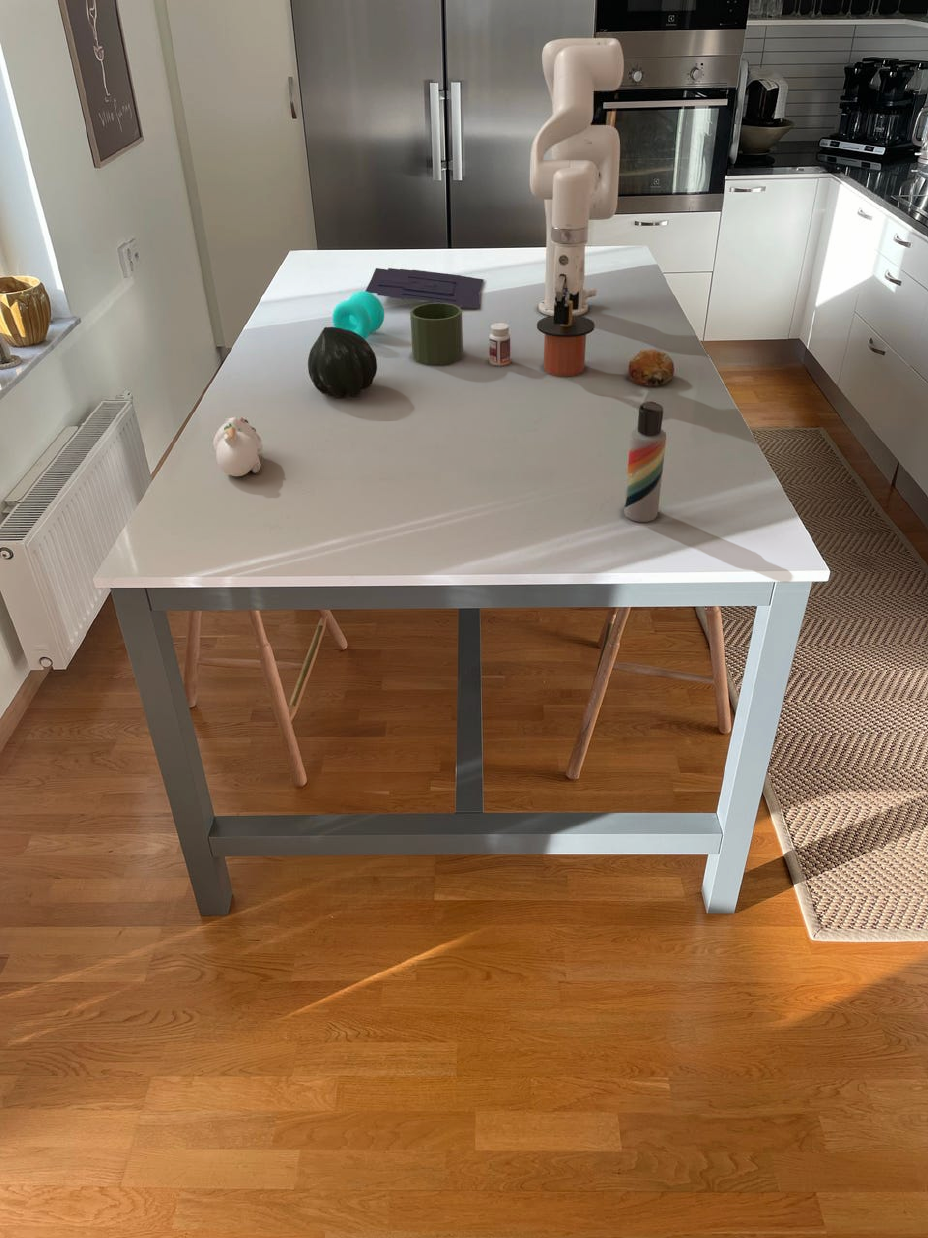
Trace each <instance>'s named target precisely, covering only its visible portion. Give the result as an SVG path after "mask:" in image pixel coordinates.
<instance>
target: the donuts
mask: <svg viewBox="0 0 928 1238" xmlns="http://www.w3.org/2000/svg"><path fill="white" fill-rule="evenodd" d="M384 320H385V309H384V307H383V304H382V302H381V300H380V299H379V298H378V297H377V295H376V294H375V295H374V293H369V292H366V290H359V291H355V292H354V293H353V294H351V295H350V296H349V298H348V299H347V300H343V301H340V302H339V303H338V304H337V305H336V306H335V307H334V309H333V312H332V324H333V327H337V328H342V329H346V330H350V331H353V332H355V333H357V334H359V335H360V336H361V337H362V338H363V339H365V340H366V339H367V338H368V337H369V335H370V334H371V333H374V332H376V331H377V330H379V329H380V328H381V326H382V325H383V323H384Z"/></svg>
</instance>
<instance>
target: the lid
mask: <svg viewBox="0 0 928 1238" xmlns="http://www.w3.org/2000/svg"><path fill="white" fill-rule="evenodd" d="M568 306H569V323H568V325H561V324H554V316H549V315H548V316H546V317H544V318H541V319H539V320H538V321H537V324H536V329H537V330H538V331H539V332H540V333H542V334H544V335H545V334H547V335H551V336H557V337H576V336H582V335H586V336H587V335H588V334H590V333H592V332H593V331H594V330H595V328H596V324H595V322H594V321H593V320H592V319H590V318H588V317H586V316H582V315H578V316H576V315H572V309H573V301H571V300H569V302H568Z"/></svg>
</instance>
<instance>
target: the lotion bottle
mask: <svg viewBox="0 0 928 1238" xmlns="http://www.w3.org/2000/svg"><path fill="white" fill-rule="evenodd" d="M638 407H639V408H638V418H637V427H635V428H633V429H632V431H631V433H630V441H629V451H628V460H627V461H628V462H627V473H626V484H625V493H624V495H625V496H624V508H623V509H624V510H623V511H624V512H623V513H624V515H625V517H626V518H627V519H628V520H631V521H634V522H636V523H637V522H638V523H647V522H648V523H649V522H651V521H653V520H655V519H656V518H657V516H658V513H659V506H660V497H661V487H662V480H663V471H664V462H665V461H664V460H665V452H666V444H667V432H666V431H665V430H664V429H662V426H663V416H664V407H663V406H662V405H660V404H659V403H657V402H654V401H644V402H642V403H641V404H640V406H638Z"/></svg>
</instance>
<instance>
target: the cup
mask: <svg viewBox="0 0 928 1238" xmlns="http://www.w3.org/2000/svg"><path fill="white" fill-rule="evenodd" d="M543 340H544V343H543V370H544V372H545V373H547V374H548V375H551V376H555V377H574V376H577V375H580V374H582V373H583V372H584V371H585V363H586V346H587V345H586V344H587V334H586V335H582V336H576V337H557V336H551V335H547V334H544V339H543Z"/></svg>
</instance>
